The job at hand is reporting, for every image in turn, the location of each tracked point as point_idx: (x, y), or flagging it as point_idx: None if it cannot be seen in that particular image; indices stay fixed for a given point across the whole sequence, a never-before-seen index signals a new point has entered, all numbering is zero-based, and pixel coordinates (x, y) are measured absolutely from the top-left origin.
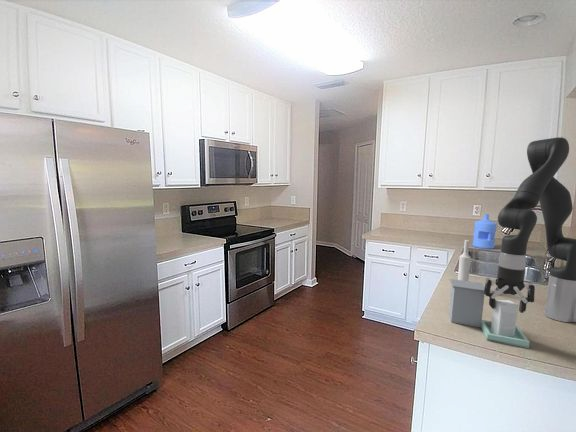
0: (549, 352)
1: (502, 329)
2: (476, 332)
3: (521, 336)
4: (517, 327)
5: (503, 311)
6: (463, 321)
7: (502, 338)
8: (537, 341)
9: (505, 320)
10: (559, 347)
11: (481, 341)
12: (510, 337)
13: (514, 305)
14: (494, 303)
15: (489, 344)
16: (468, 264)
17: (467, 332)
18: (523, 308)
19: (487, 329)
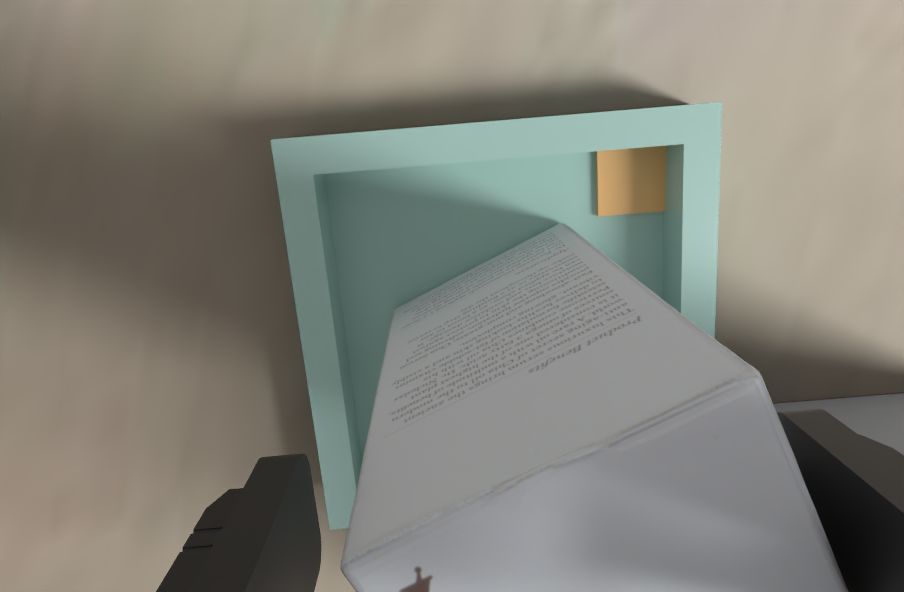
0: (106, 146)
1: (544, 255)
2: (759, 257)
3: (332, 288)
4: (341, 487)
5: (632, 332)
6: (880, 410)
7: (551, 118)
8: (185, 358)
9: (539, 303)
10: (4, 325)
11: (757, 38)
12: (466, 153)
13: (428, 512)
14: (855, 467)
15: (685, 3)
16: None
17: (860, 204)
18: (241, 508)
19: (691, 252)
